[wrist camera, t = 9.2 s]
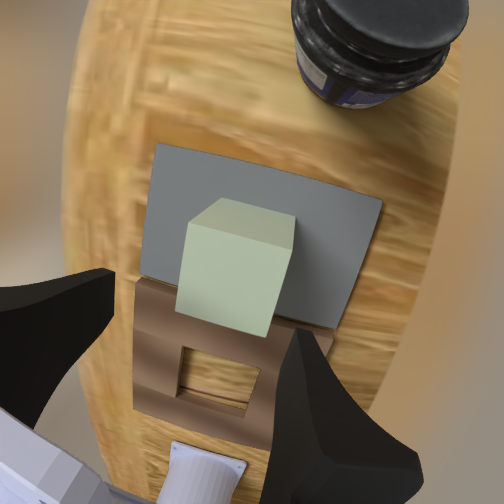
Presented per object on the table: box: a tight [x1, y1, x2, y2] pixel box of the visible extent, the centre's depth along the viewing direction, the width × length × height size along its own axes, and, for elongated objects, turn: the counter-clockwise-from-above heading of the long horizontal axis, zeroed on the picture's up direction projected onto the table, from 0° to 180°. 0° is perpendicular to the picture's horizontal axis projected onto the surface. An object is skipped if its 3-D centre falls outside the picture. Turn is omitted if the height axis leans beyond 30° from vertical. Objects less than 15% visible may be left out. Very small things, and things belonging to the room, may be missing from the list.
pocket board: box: [133, 277, 334, 451], centre depth 24 cm, size 14×14×1 cm
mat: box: [139, 143, 383, 329], centre depth 20 cm, size 9×14×1 cm, turn 77°
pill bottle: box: [291, 0, 469, 110], centre depth 11 cm, size 6×6×11 cm
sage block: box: [175, 198, 295, 338], centre depth 17 cm, size 4×4×6 cm
